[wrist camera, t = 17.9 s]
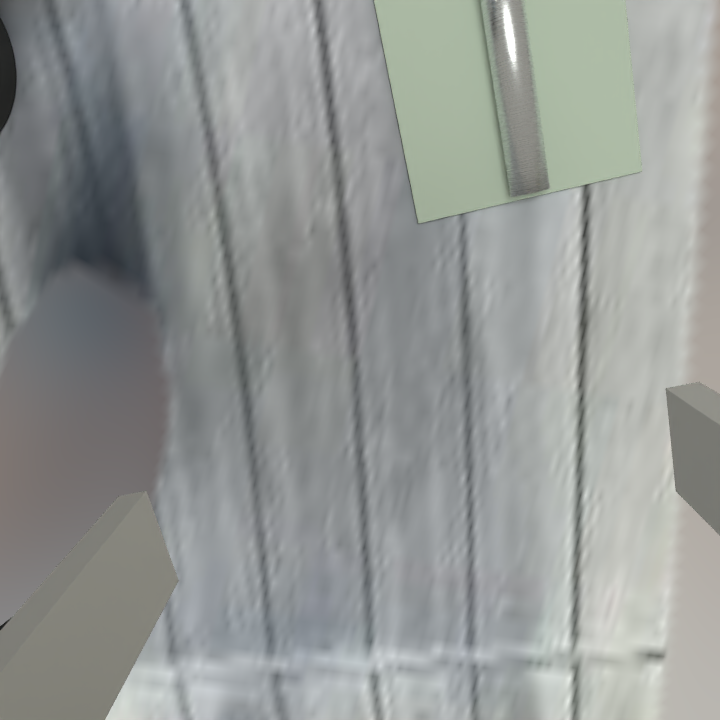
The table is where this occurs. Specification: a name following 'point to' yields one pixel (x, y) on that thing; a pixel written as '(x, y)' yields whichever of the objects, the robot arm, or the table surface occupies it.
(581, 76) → the sage mat
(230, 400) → the table surface
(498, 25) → the steel rod
